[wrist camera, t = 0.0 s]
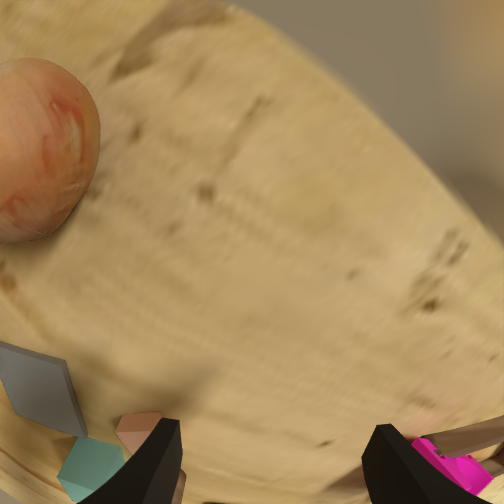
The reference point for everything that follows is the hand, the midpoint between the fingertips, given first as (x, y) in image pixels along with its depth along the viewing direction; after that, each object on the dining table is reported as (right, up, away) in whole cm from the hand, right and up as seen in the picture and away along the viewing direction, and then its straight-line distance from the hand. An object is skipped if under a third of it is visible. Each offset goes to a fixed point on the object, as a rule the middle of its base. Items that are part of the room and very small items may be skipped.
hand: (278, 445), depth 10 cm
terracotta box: (-9, -8, +14) cm, 18 cm away
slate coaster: (-21, -6, +13) cm, 25 cm away
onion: (-13, +14, +7) cm, 20 cm away
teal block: (-16, -13, +15) cm, 25 cm away
